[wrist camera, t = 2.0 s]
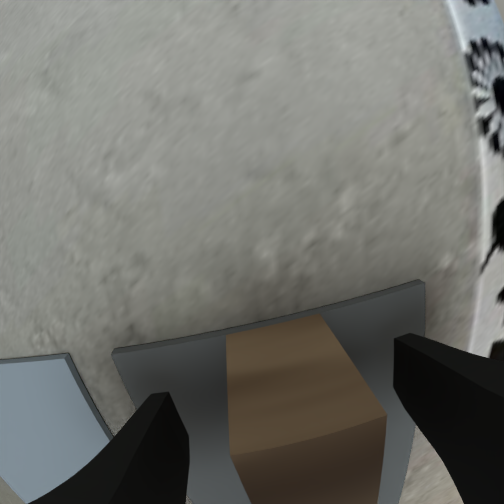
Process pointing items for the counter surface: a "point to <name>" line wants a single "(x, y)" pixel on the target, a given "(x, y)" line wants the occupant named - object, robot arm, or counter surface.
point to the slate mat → (45, 424)
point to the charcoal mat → (210, 386)
